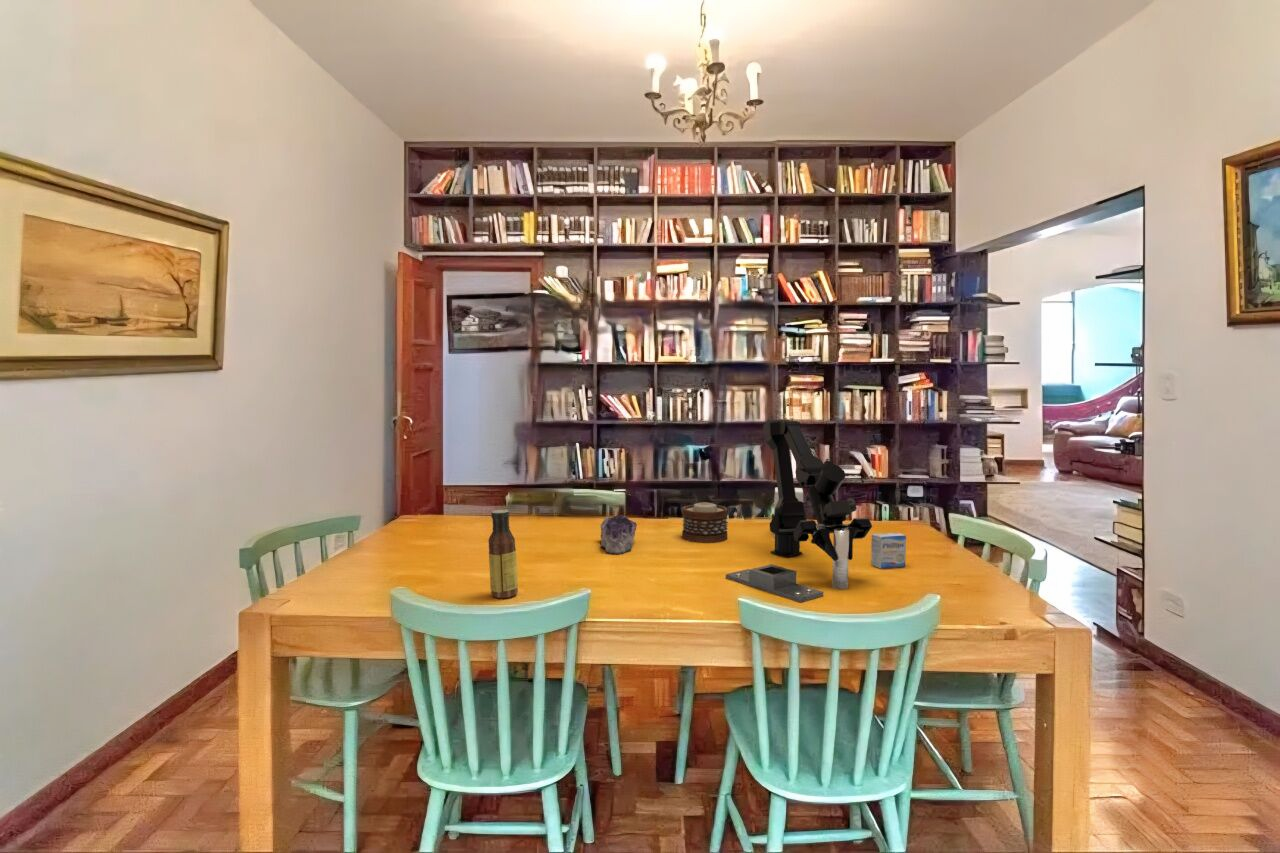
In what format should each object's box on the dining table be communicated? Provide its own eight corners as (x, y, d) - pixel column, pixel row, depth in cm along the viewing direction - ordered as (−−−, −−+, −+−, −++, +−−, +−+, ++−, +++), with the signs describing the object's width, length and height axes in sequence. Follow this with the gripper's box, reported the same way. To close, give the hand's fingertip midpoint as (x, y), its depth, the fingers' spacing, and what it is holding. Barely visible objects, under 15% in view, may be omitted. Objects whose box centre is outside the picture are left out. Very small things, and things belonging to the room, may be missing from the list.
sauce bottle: (519, 591, 167) (518, 508, 166) (515, 599, 161) (514, 513, 159) (491, 591, 167) (490, 508, 165) (486, 599, 161) (485, 513, 159)
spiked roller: (732, 501, 226) (724, 509, 212) (732, 534, 227) (723, 545, 213) (687, 498, 231) (676, 506, 216) (687, 531, 232) (676, 541, 217)
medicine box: (880, 569, 186) (881, 537, 186) (870, 565, 191) (871, 533, 190) (905, 567, 189) (906, 535, 188) (895, 562, 193) (896, 531, 192)
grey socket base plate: (725, 578, 178) (725, 562, 178) (747, 572, 183) (748, 557, 182) (800, 602, 159) (800, 585, 159) (823, 595, 164) (823, 579, 163)
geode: (641, 555, 201) (636, 521, 200) (600, 561, 201) (596, 527, 200) (638, 536, 221) (634, 505, 220) (601, 541, 221) (597, 510, 220)
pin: (829, 586, 171) (830, 529, 170) (838, 583, 173) (839, 527, 172) (841, 590, 168) (843, 532, 167) (850, 587, 170) (852, 530, 169)
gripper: (799, 488, 171) (818, 543, 161) (869, 485, 175) (892, 539, 165) (785, 513, 179) (803, 568, 169) (853, 511, 183) (874, 564, 173)
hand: (843, 559), depth 169 cm, fingers closed on pin, 4 cm apart
